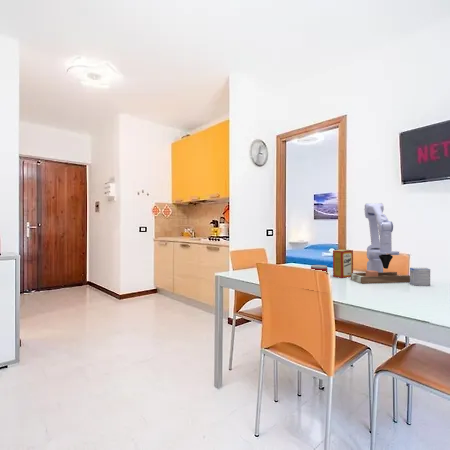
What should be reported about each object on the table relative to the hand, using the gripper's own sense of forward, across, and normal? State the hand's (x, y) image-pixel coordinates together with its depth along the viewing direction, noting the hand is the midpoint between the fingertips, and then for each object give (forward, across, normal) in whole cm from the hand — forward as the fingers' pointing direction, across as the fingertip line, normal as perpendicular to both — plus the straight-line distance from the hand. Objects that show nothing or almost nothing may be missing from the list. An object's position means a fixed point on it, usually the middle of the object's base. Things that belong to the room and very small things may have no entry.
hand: (385, 268), depth 168 cm
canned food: (+7, -43, -13) cm, 45 cm away
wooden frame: (+7, -4, 0) cm, 8 cm away
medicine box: (+7, +10, -13) cm, 18 cm away
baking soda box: (+7, -17, +15) cm, 24 cm away
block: (+5, -8, 0) cm, 9 cm away
